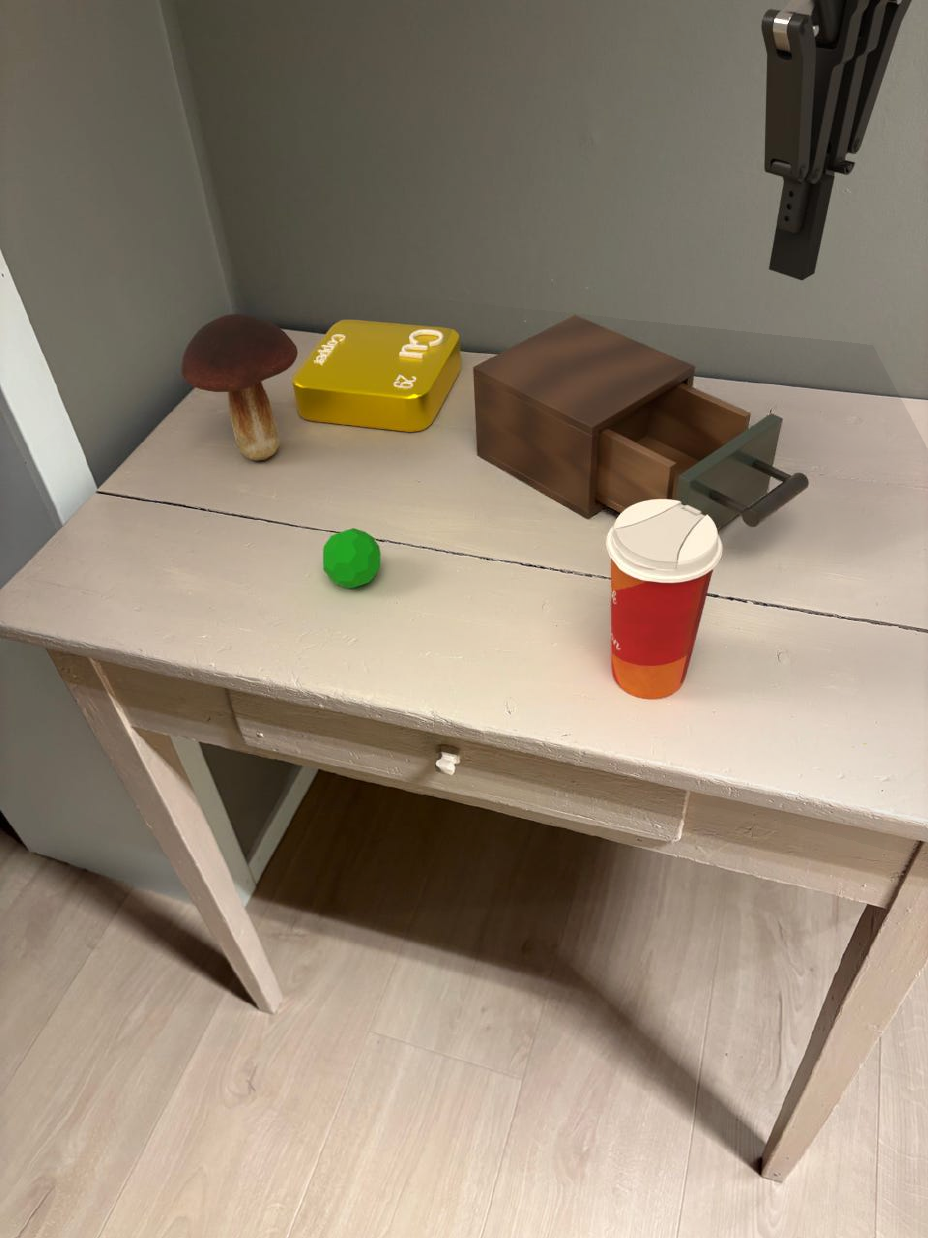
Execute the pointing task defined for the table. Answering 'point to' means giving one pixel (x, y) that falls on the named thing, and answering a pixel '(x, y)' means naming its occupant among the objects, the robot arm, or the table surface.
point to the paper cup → (658, 592)
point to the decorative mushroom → (241, 374)
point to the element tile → (378, 375)
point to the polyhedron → (351, 558)
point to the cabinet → (565, 404)
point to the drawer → (694, 458)
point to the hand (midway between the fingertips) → (791, 270)
